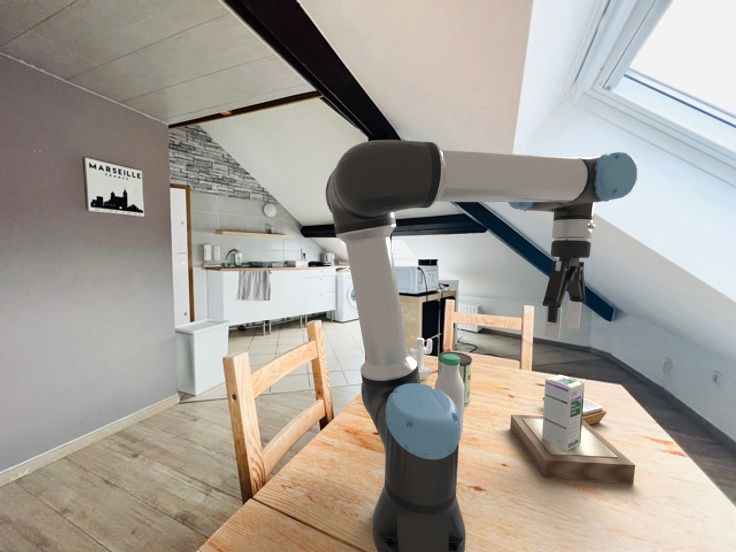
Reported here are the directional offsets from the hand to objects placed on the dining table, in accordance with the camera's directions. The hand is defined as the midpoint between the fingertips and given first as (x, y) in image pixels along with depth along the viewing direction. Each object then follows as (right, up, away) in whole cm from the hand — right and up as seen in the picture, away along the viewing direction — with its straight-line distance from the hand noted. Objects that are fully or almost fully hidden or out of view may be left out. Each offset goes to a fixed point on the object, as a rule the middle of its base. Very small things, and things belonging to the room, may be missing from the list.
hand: (562, 332), depth 72 cm
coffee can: (-18, -27, +27) cm, 42 cm away
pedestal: (+1, -29, +2) cm, 29 cm away
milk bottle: (-24, -28, +10) cm, 38 cm away
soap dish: (+15, -28, +19) cm, 37 cm away
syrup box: (-1, -25, -1) cm, 25 cm away
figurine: (-26, -25, +43) cm, 56 cm away
